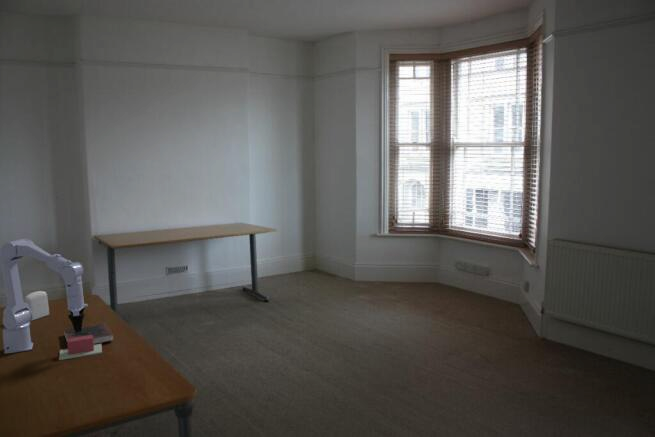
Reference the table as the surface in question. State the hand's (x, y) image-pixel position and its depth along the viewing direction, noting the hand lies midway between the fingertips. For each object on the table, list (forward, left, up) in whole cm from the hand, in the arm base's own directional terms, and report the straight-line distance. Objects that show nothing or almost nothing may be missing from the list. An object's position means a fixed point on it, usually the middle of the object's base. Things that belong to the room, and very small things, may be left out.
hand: (78, 328), depth 220 cm
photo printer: (-19, +59, -10) cm, 63 cm away
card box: (0, 0, -9) cm, 9 cm away
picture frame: (+3, +16, -9) cm, 18 cm away
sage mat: (0, 0, -9) cm, 9 cm away
